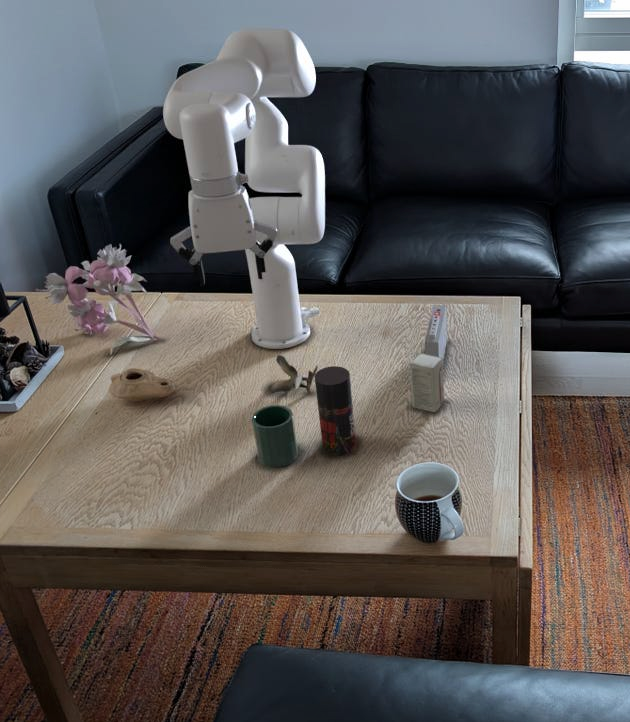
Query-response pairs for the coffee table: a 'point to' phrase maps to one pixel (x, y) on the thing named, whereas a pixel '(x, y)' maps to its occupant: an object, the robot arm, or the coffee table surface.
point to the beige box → (427, 382)
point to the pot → (275, 436)
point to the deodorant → (335, 410)
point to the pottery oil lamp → (139, 385)
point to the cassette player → (436, 332)
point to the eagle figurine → (294, 380)
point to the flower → (104, 280)
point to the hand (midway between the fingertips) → (231, 279)
